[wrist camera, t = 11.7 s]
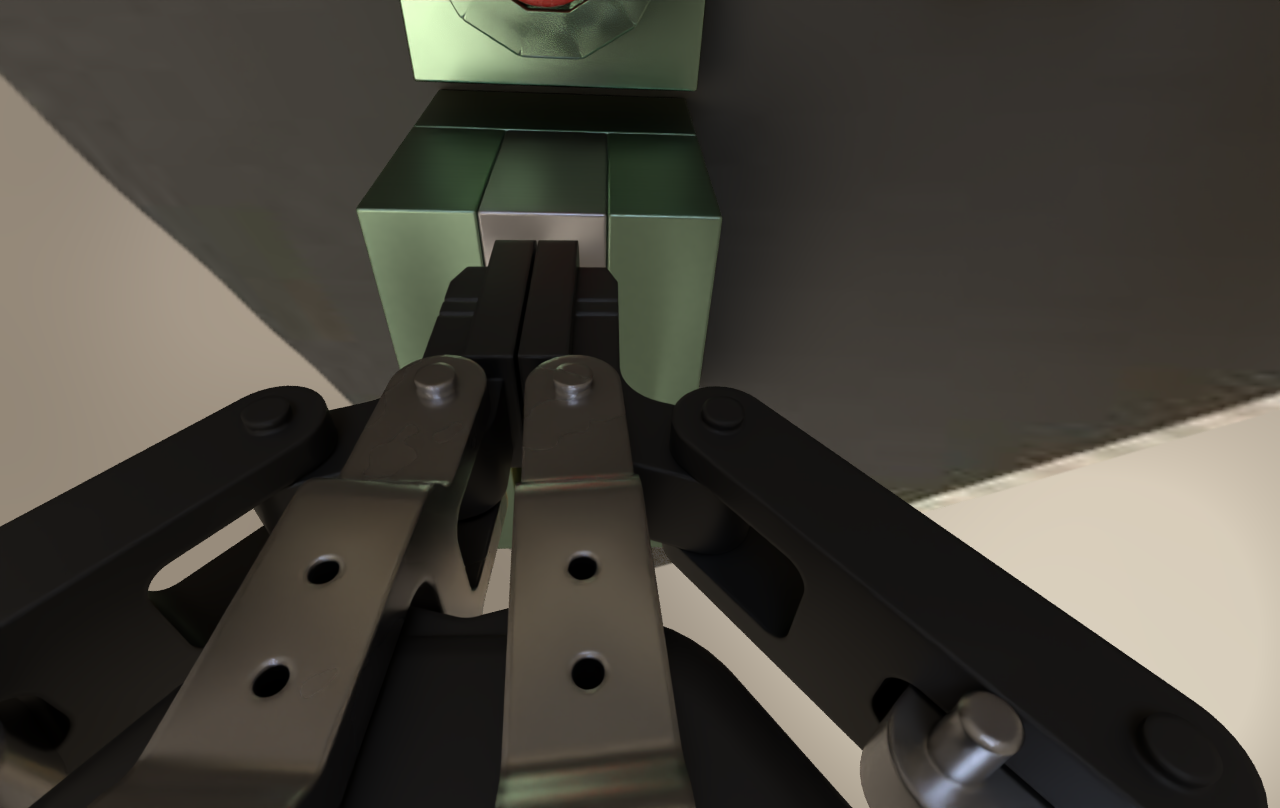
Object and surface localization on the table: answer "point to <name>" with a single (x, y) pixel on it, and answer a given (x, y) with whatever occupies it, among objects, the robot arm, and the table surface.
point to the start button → (546, 2)
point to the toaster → (554, 218)
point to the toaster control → (557, 43)
